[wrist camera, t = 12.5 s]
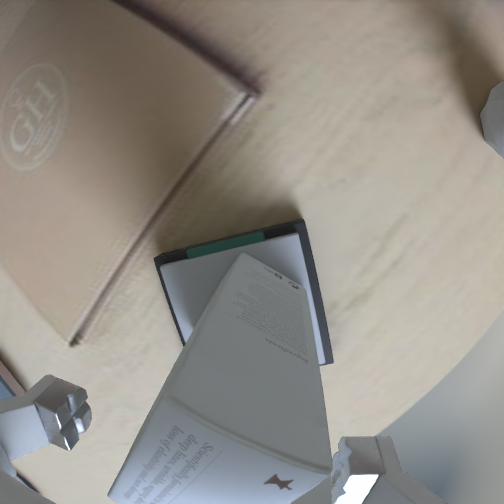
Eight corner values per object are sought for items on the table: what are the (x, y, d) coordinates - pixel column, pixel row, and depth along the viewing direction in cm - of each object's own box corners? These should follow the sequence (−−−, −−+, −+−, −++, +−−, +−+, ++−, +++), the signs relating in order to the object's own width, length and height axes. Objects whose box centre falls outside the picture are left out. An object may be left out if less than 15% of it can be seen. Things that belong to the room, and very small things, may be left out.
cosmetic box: (240, 247, 17) (146, 380, 5) (312, 289, 17) (346, 470, 5) (190, 334, 18) (92, 493, 7) (255, 370, 18) (219, 550, 7)
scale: (160, 253, 19) (148, 260, 18) (303, 218, 18) (305, 222, 16) (202, 376, 21) (196, 390, 19) (331, 353, 20) (335, 368, 18)
